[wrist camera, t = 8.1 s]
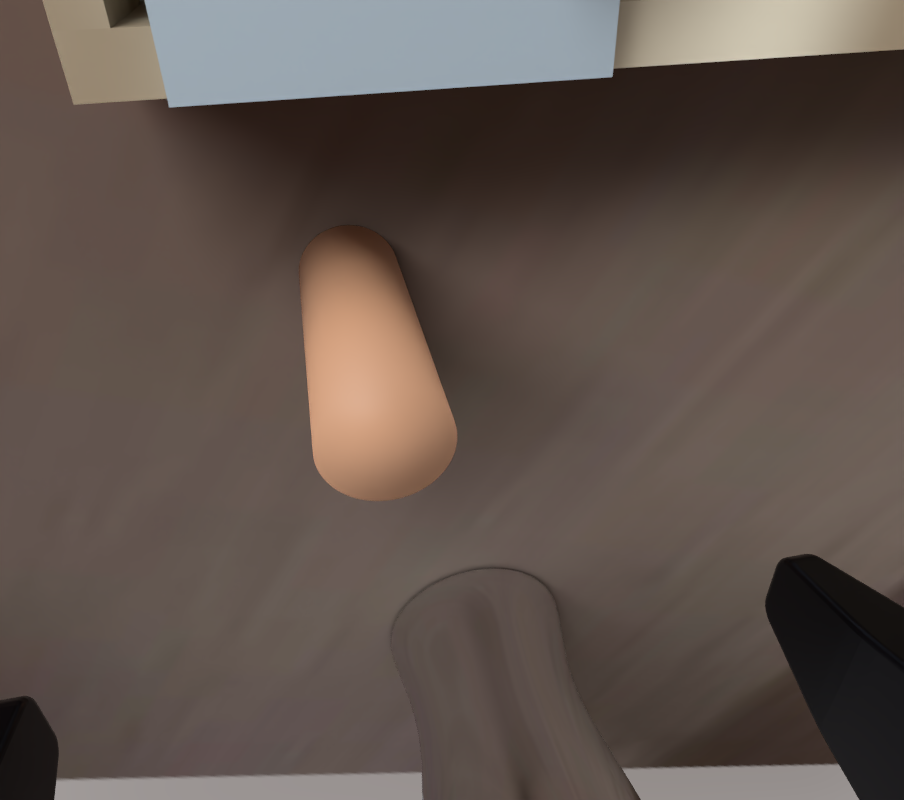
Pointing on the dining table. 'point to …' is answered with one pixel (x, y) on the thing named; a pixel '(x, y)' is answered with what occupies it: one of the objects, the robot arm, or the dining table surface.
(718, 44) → the wooden compartment tray
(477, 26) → the lid
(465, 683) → the beer glass
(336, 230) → the peg
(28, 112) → the dining table surface
